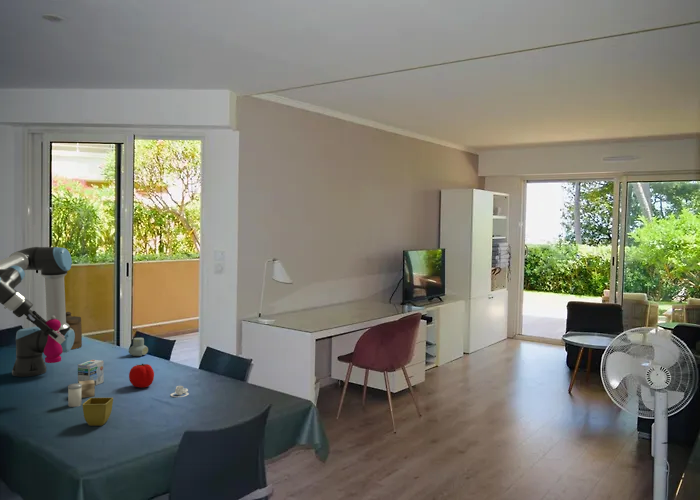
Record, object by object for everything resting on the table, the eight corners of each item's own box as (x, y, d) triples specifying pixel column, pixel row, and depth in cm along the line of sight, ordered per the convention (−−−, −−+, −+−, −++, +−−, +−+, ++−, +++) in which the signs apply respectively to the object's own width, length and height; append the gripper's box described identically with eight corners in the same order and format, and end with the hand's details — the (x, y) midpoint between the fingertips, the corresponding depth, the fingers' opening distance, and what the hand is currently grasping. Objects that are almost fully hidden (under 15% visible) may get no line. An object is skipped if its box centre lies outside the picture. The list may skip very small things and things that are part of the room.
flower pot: (90, 419, 219) (90, 397, 219) (113, 419, 220) (113, 397, 219) (81, 428, 210) (81, 404, 210) (105, 427, 211) (105, 404, 210)
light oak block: (79, 398, 246) (79, 384, 246) (78, 394, 251) (78, 381, 251) (94, 396, 249) (94, 383, 248) (93, 392, 254) (93, 379, 254)
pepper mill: (66, 360, 245) (66, 315, 244) (52, 364, 238) (52, 317, 237) (53, 358, 247) (53, 313, 246) (39, 362, 240) (39, 316, 239)
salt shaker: (72, 402, 239) (72, 383, 239) (84, 403, 239) (84, 383, 239) (65, 406, 234) (65, 386, 233) (77, 407, 234) (77, 387, 233)
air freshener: (136, 353, 333) (136, 336, 333) (149, 353, 332) (149, 337, 332) (126, 357, 323) (126, 340, 322) (140, 357, 321) (140, 340, 321)
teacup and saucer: (184, 391, 260) (185, 382, 260) (193, 395, 254) (193, 386, 254) (167, 395, 254) (167, 386, 254) (175, 399, 248) (175, 390, 248)
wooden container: (49, 349, 339) (49, 313, 338) (65, 344, 353) (65, 309, 352) (71, 350, 336) (71, 314, 335) (86, 345, 351) (86, 310, 350)
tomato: (145, 391, 258) (145, 367, 257) (123, 389, 260) (123, 365, 260) (159, 384, 270) (159, 361, 269) (138, 382, 272) (138, 359, 271)
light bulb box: (89, 388, 261) (89, 365, 260) (77, 387, 262) (77, 364, 261) (104, 382, 271) (104, 360, 271) (91, 381, 272) (91, 359, 272)
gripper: (12, 308, 242) (55, 342, 251) (10, 315, 226) (56, 351, 235) (26, 295, 244) (68, 330, 253) (25, 301, 228) (70, 338, 237)
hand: (62, 340), depth 244 cm, fingers closed on pepper mill, 5 cm apart
